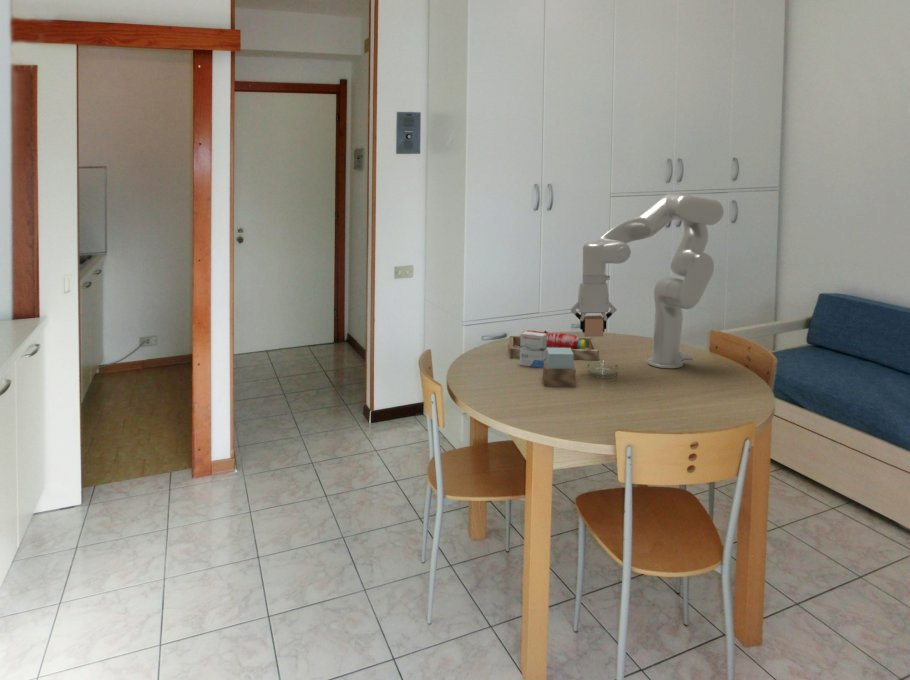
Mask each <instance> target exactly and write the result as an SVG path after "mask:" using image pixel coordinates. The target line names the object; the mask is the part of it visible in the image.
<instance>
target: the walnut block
mask: <svg viewBox="0 0 910 680" xmlns="http://www.w3.org/2000/svg"><path fill="white" fill-rule="evenodd" d="M576 370H577V369H576V366H575V362H573V369H548V366H547V363H546V361H543V367H542V381H543V386H544V387H567V388H568V387H573V388H574V387H576V372H577V371H576Z"/></svg>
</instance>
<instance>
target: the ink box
mask: <svg viewBox="0 0 910 680" xmlns="http://www.w3.org/2000/svg"><path fill="white" fill-rule="evenodd" d="M524 331H525V332H524ZM524 331H522V332H523V333H522V332H521V333H522V334H521V333H520V335H519V336H520V346H519V347H520V358H519V365H520V366H524V367H532V368H541V369H543V361H546V341H547V334H544V333H536V332H527V331H528V330H524Z"/></svg>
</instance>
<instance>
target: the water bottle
mask: <svg viewBox="0 0 910 680" xmlns="http://www.w3.org/2000/svg"><path fill="white" fill-rule="evenodd" d="M525 331H527V332H536V333H544V334H547V341H546V349H547V348H571V349H583V350H586V347H585V346H586V342H585V340H583V339H581V340H580V339H579V338H577V335H575V334H570V333H558V332H557V333H553V332H552V333H551V332H548V331H546V330H544V331H543V332H542V331H537V330H530V329H529V330H524V331H522V332H521V333H520V334H522V333H523V332H525Z"/></svg>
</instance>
